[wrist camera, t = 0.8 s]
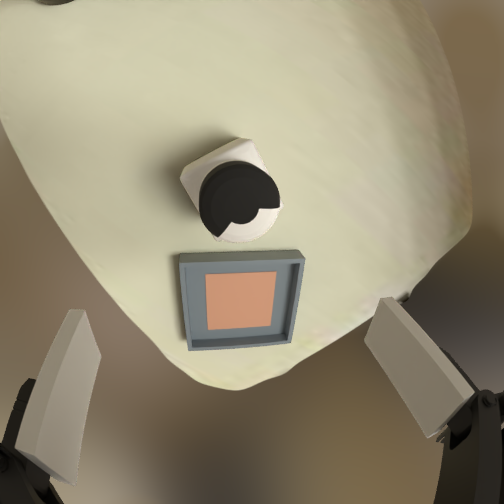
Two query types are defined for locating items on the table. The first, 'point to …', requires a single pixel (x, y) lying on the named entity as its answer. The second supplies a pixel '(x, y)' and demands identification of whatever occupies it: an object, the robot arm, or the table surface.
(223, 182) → the medicine bottle
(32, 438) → the robot arm
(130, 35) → the table surface
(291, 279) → the tray
